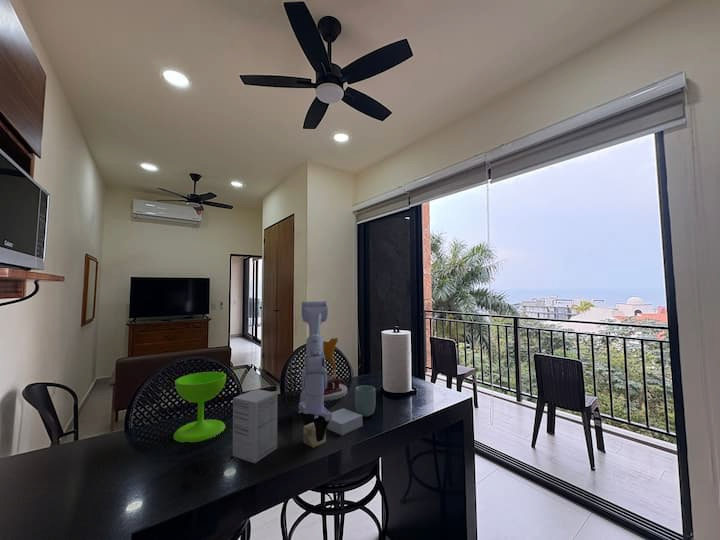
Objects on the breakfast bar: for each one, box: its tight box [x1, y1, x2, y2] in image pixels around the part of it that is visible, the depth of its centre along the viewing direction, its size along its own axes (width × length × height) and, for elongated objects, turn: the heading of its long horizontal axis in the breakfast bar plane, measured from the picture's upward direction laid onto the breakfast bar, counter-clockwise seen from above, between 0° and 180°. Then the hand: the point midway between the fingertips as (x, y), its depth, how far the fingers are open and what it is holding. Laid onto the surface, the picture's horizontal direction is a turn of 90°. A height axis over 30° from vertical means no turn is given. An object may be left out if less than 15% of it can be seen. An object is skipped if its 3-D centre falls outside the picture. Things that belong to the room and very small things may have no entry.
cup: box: [354, 384, 377, 418], centre depth 121 cm, size 8×8×10 cm
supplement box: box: [232, 388, 278, 464], centre depth 94 cm, size 10×9×17 cm
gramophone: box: [323, 337, 348, 402], centre depth 148 cm, size 20×20×25 cm
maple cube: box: [302, 422, 327, 448], centre depth 100 cm, size 5×5×5 cm
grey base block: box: [326, 407, 363, 436], centre depth 111 cm, size 10×10×4 cm
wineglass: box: [172, 371, 227, 443], centre depth 108 cm, size 16×16×18 cm
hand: (314, 437), depth 100 cm, fingers closed on maple cube, 5 cm apart
